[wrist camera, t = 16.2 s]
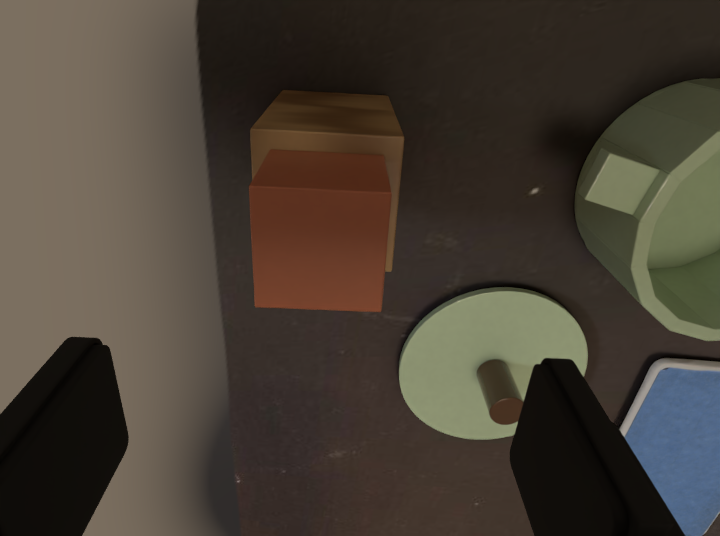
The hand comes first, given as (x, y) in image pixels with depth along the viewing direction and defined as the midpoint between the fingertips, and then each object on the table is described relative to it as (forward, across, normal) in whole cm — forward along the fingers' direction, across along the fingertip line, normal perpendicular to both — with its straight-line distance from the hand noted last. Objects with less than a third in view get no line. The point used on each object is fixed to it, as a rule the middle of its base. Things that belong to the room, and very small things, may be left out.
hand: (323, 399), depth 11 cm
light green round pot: (+21, -21, +1) cm, 30 cm away
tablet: (+21, -29, +24) cm, 43 cm away
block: (+11, +1, 0) cm, 11 cm away
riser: (+21, +1, 0) cm, 21 cm away
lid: (+20, -12, +15) cm, 28 cm away
